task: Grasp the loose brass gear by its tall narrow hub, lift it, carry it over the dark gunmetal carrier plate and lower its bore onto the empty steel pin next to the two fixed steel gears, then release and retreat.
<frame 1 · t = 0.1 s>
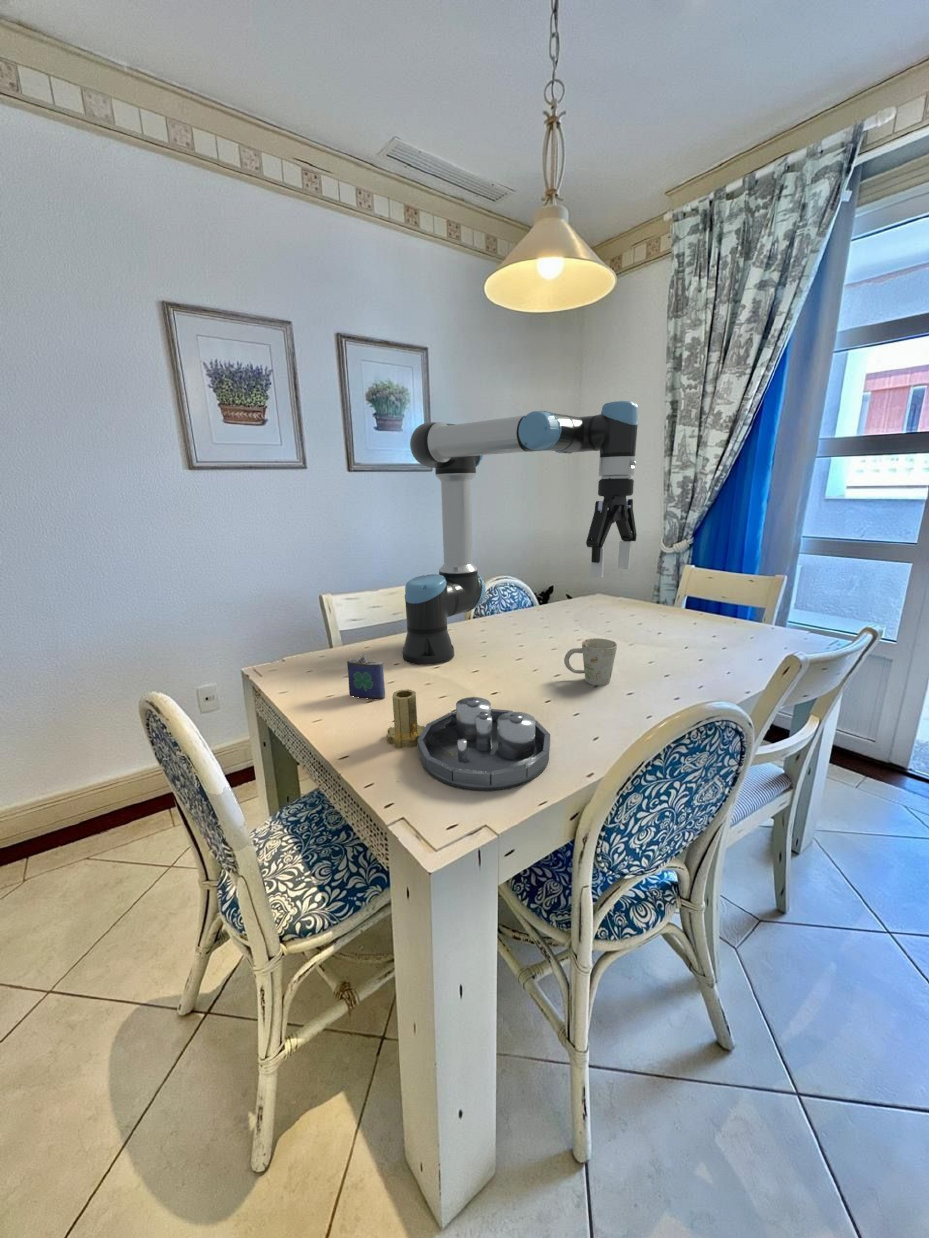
hand: (610, 572, 114), 28 cm above the table, fingers open, 13 cm apart
mug: (588, 681, 124), on the table
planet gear: (406, 738, 98), on the table
carrier: (484, 752, 92), on the table
flask: (367, 697, 118), on the table
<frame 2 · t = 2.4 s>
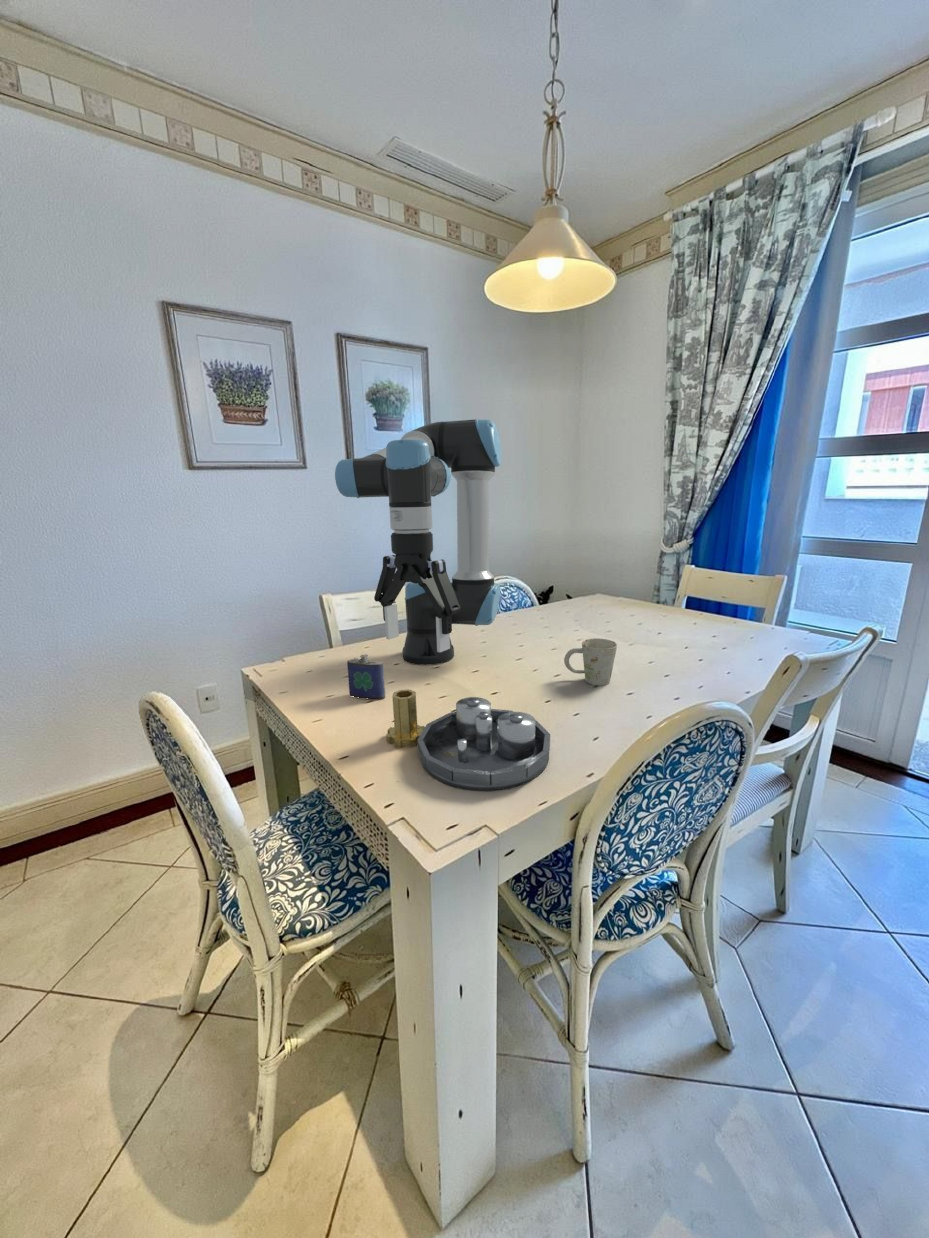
hand: (416, 643, 94), 19 cm above the table, fingers open, 13 cm apart
nothing on the table moved.
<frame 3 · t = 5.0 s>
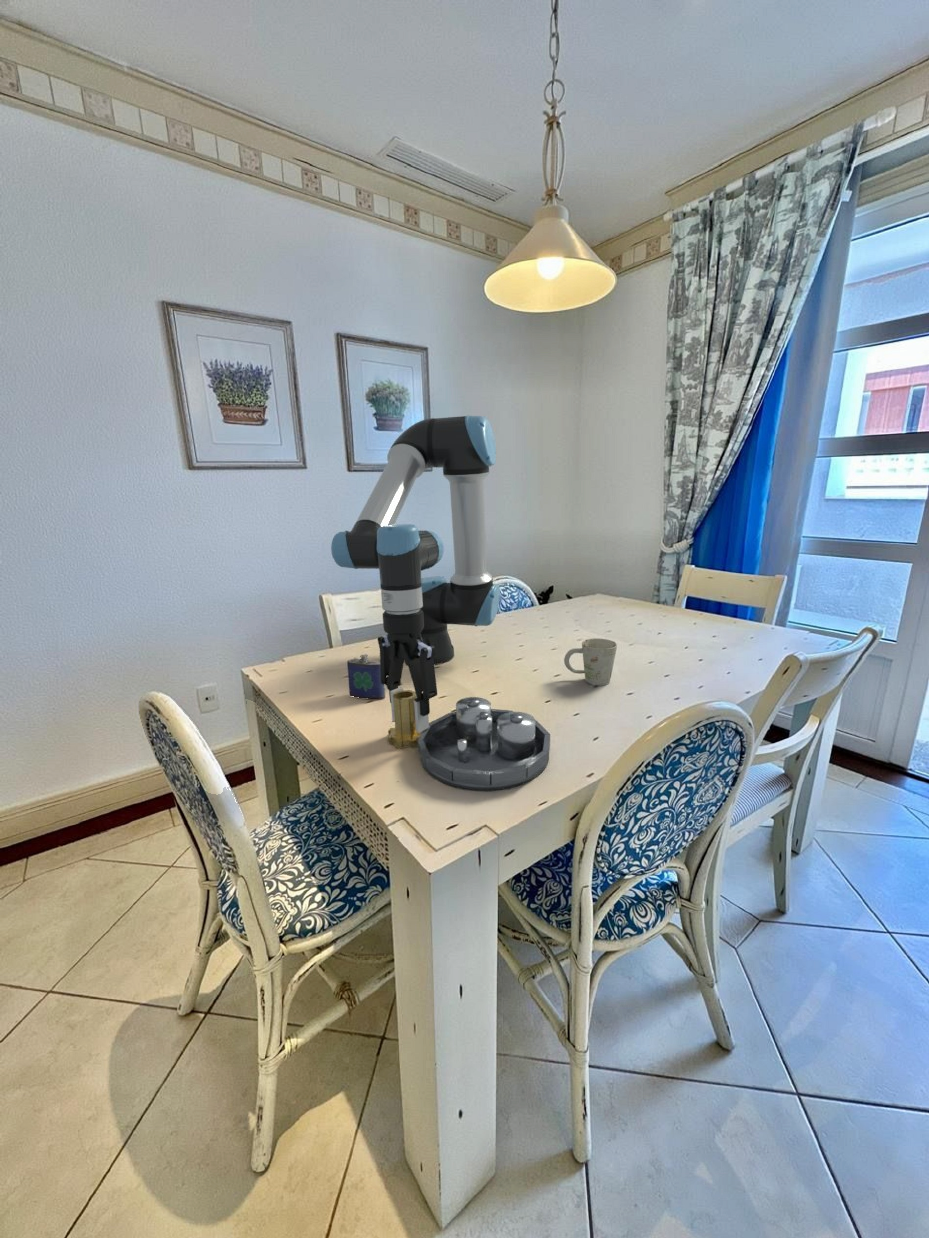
hand: (410, 724, 96), 3 cm above the table, fingers open, 6 cm apart
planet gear: (407, 738, 98), on the table, touching carrier, gripper
everything else where it was.
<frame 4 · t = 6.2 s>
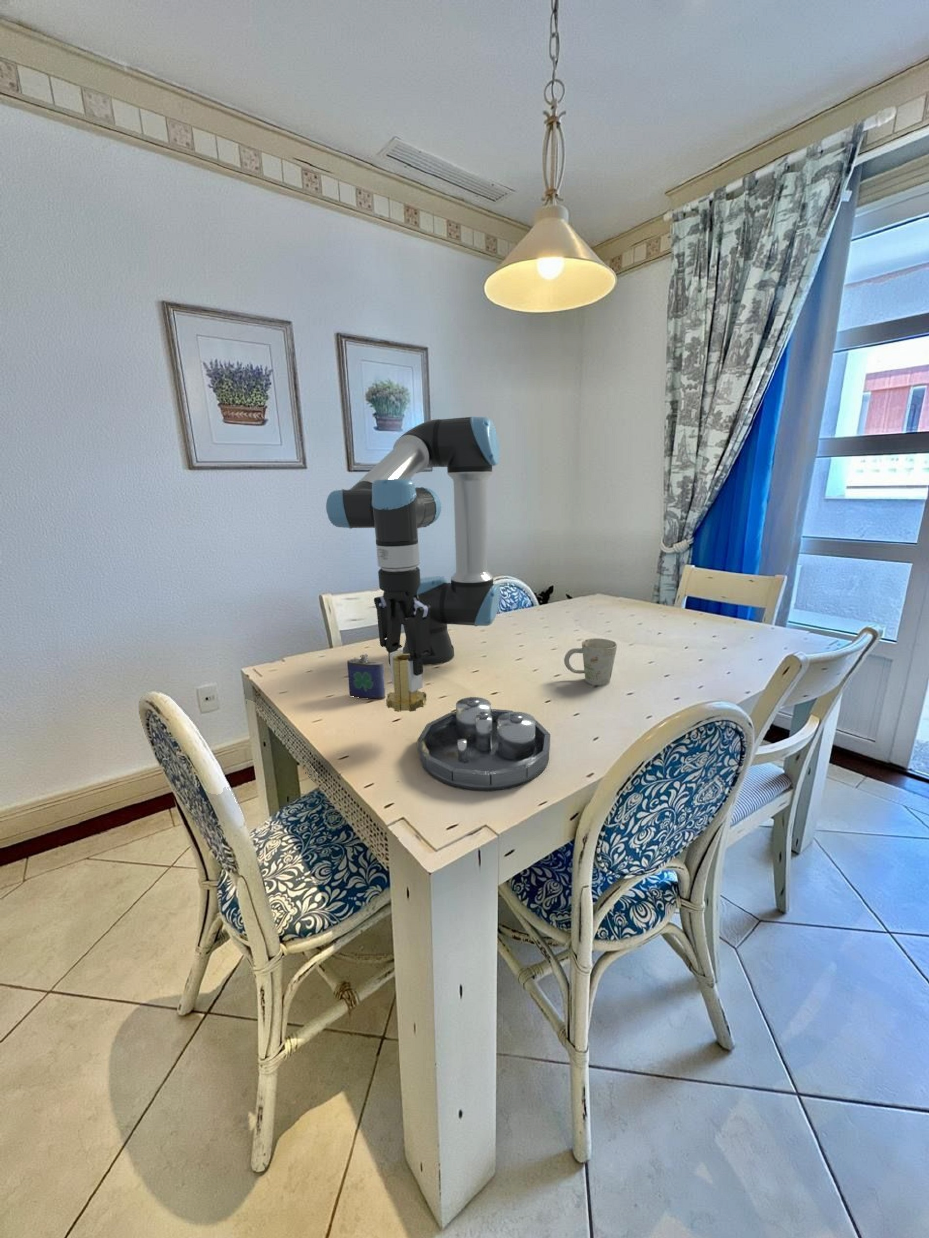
hand: (407, 685, 96), 11 cm above the table, fingers closed on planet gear, 4 cm apart
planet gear: (406, 703, 96), point 7 cm above the table, touching gripper
everything else where it was.
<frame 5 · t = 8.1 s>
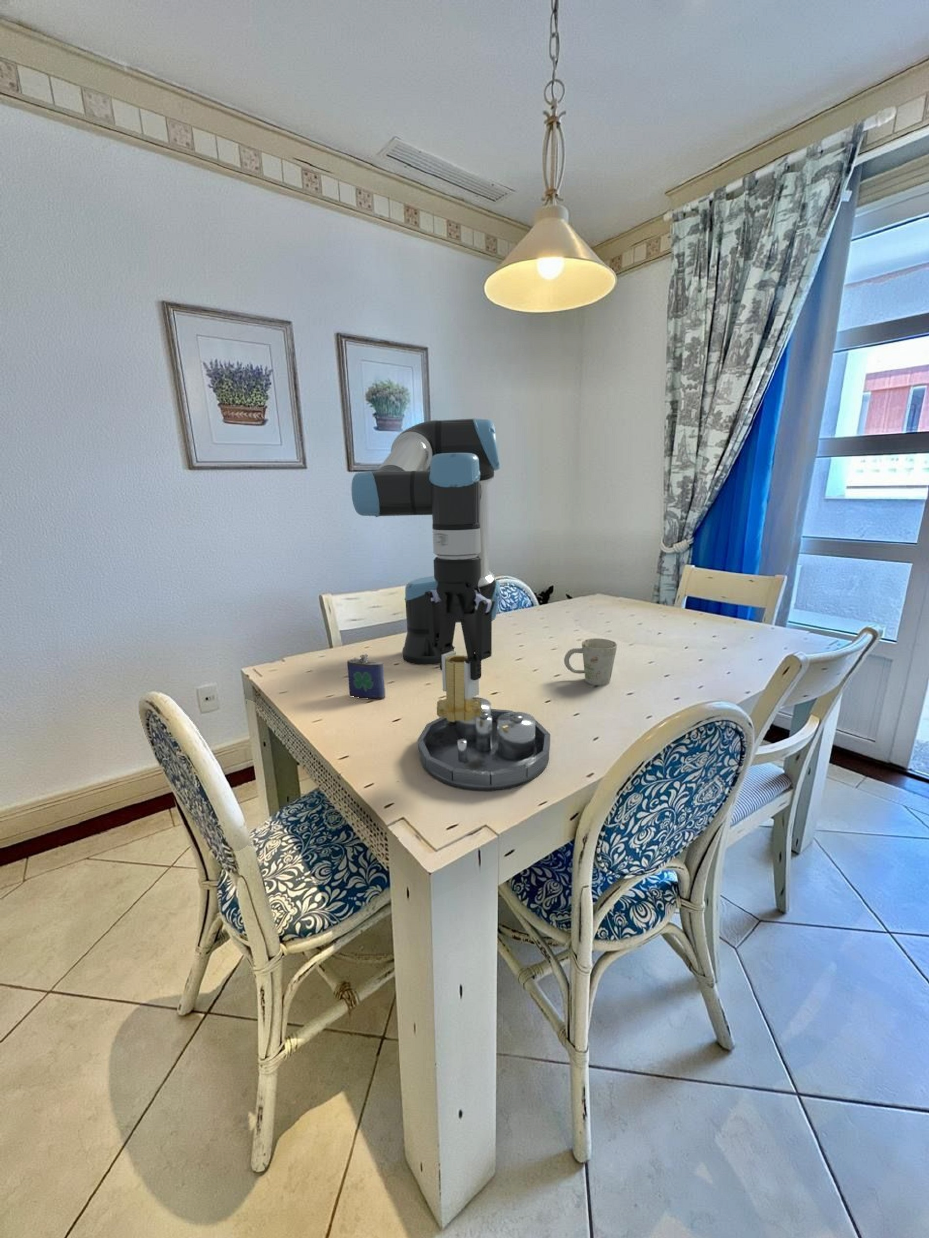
hand: (460, 692, 84), 14 cm above the table, fingers closed on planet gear, 4 cm apart
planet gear: (459, 712, 84), point 11 cm above the table, touching gripper
everything else where it was.
when the fingers open (6 cm above the table, at t = 10.0 s): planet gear stays where it is, resting on carrier.
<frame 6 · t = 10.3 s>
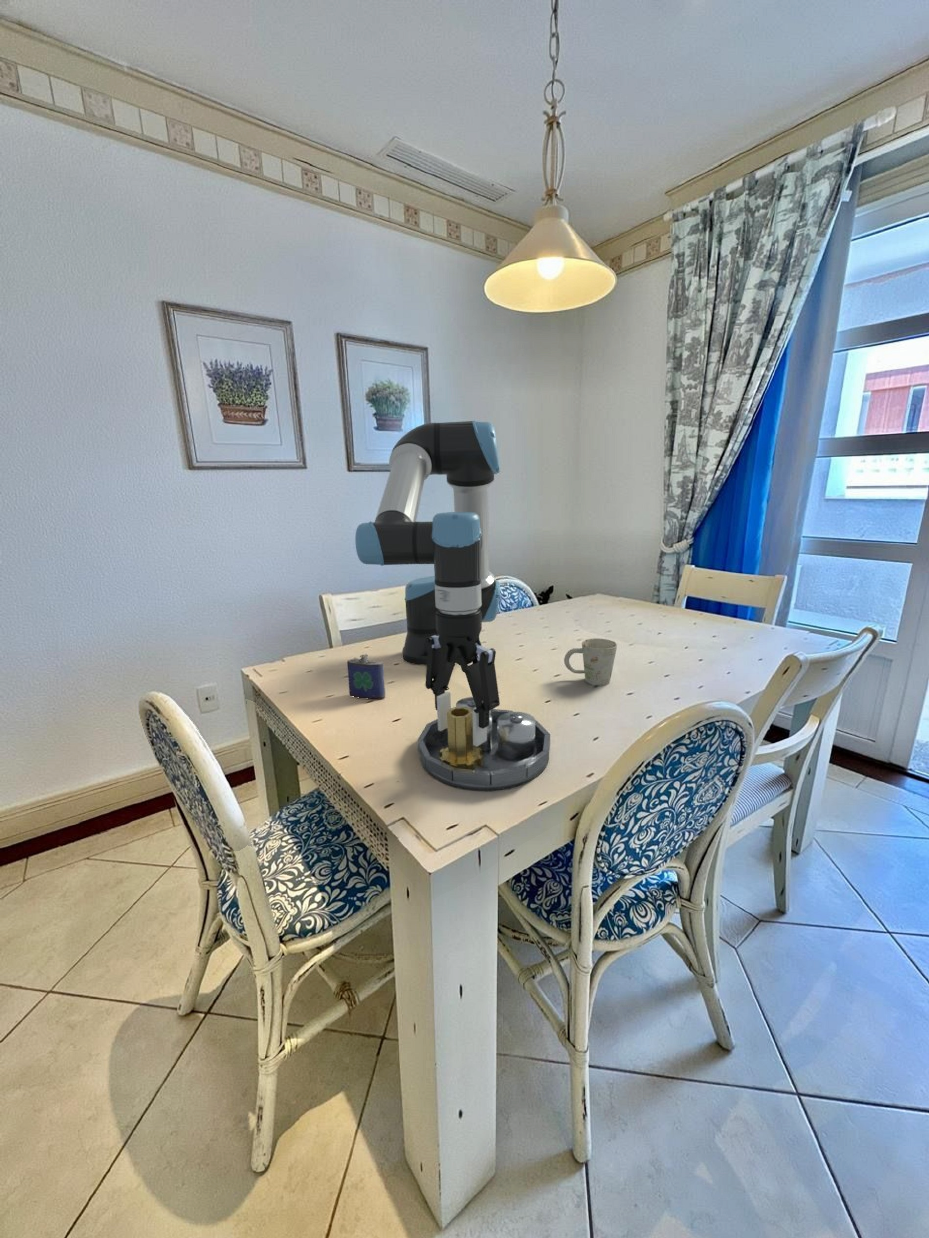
hand: (461, 734, 86), 6 cm above the table, fingers open, 8 cm apart
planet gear: (461, 761, 87), point 1 cm above the table, touching carrier
everything else where it was.
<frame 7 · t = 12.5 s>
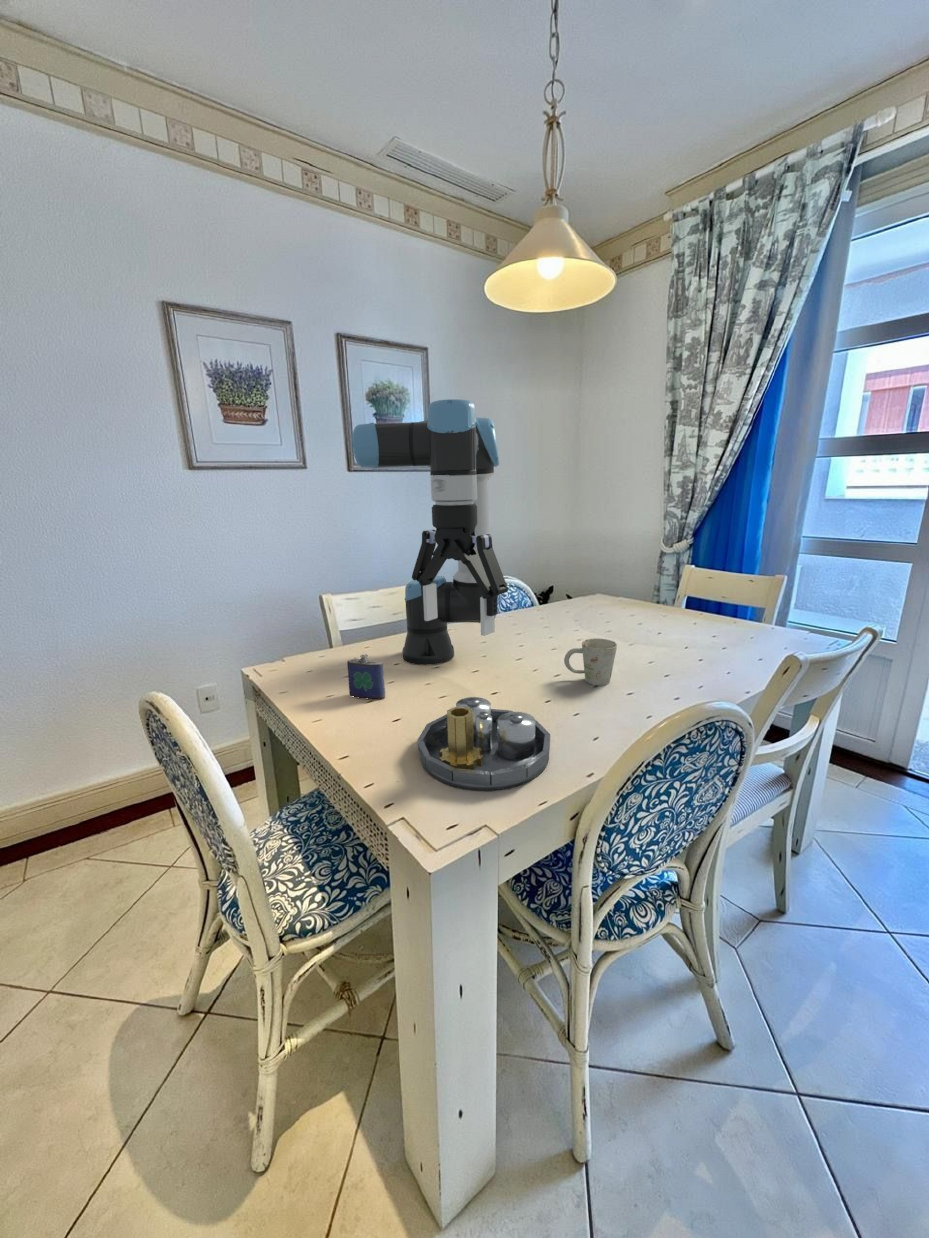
hand: (458, 626, 87), 24 cm above the table, fingers open, 13 cm apart
nothing on the table moved.
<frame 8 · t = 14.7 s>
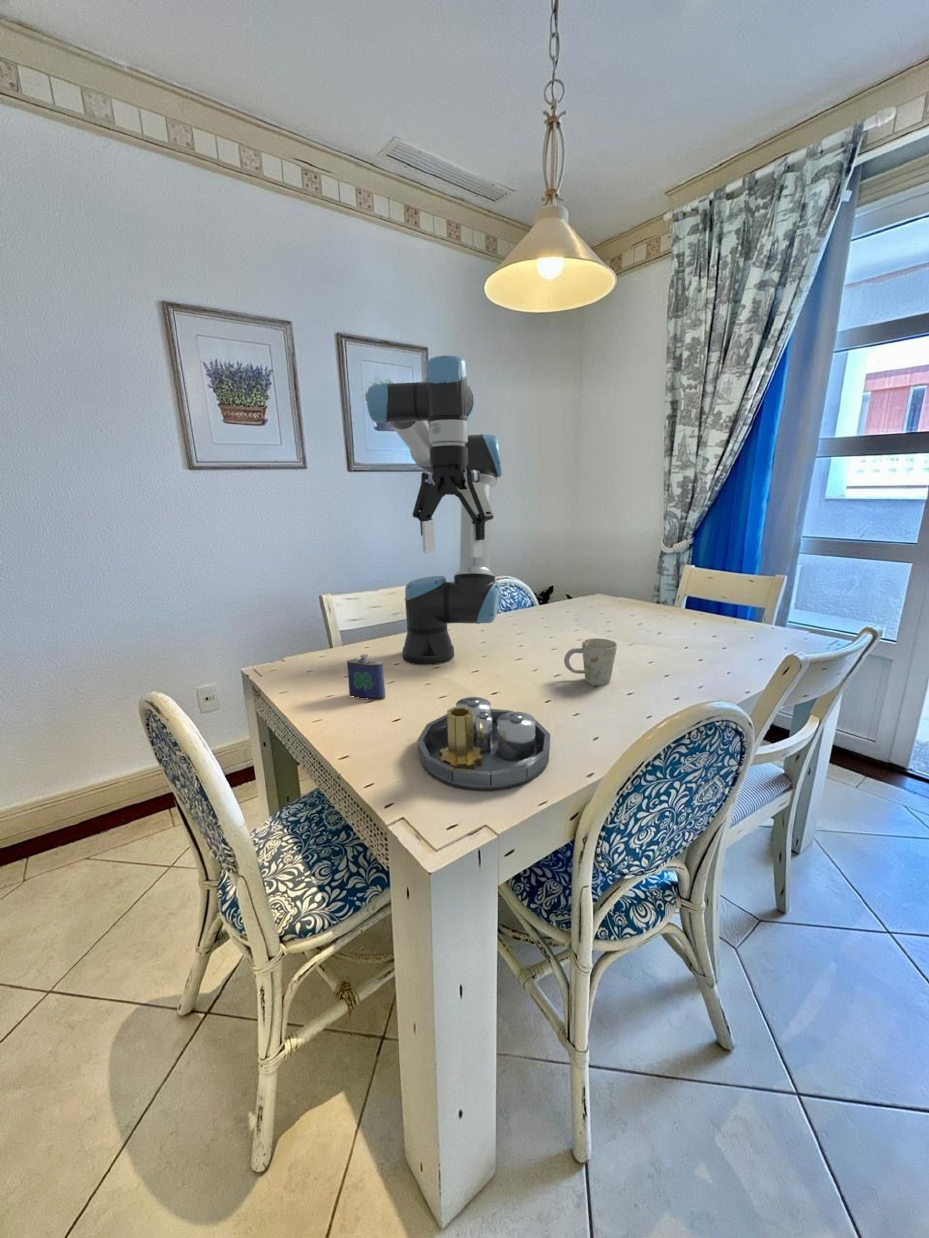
hand: (451, 554, 102), 35 cm above the table, fingers open, 13 cm apart
nothing on the table moved.
at the end: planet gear 0.4 cm from the target spot on the carrier, point 1.2 cm above the carrier's base; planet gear tilted 0°; the gripper is holding nothing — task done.
